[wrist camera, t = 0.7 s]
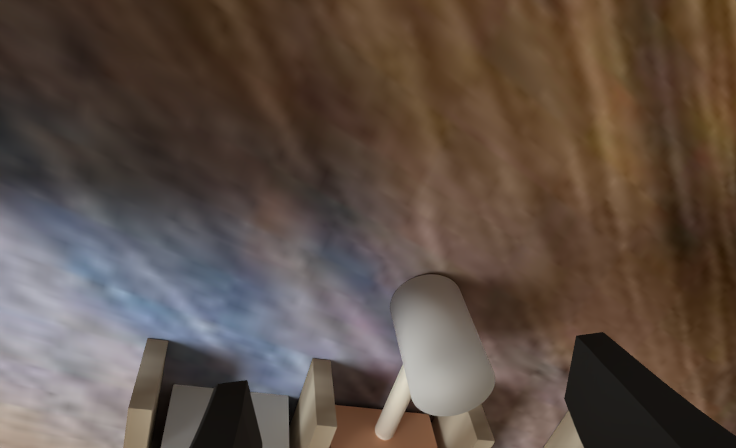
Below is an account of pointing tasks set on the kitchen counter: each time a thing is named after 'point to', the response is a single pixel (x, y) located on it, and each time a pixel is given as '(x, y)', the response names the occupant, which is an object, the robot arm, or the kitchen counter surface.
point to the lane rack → (315, 412)
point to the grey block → (192, 406)
